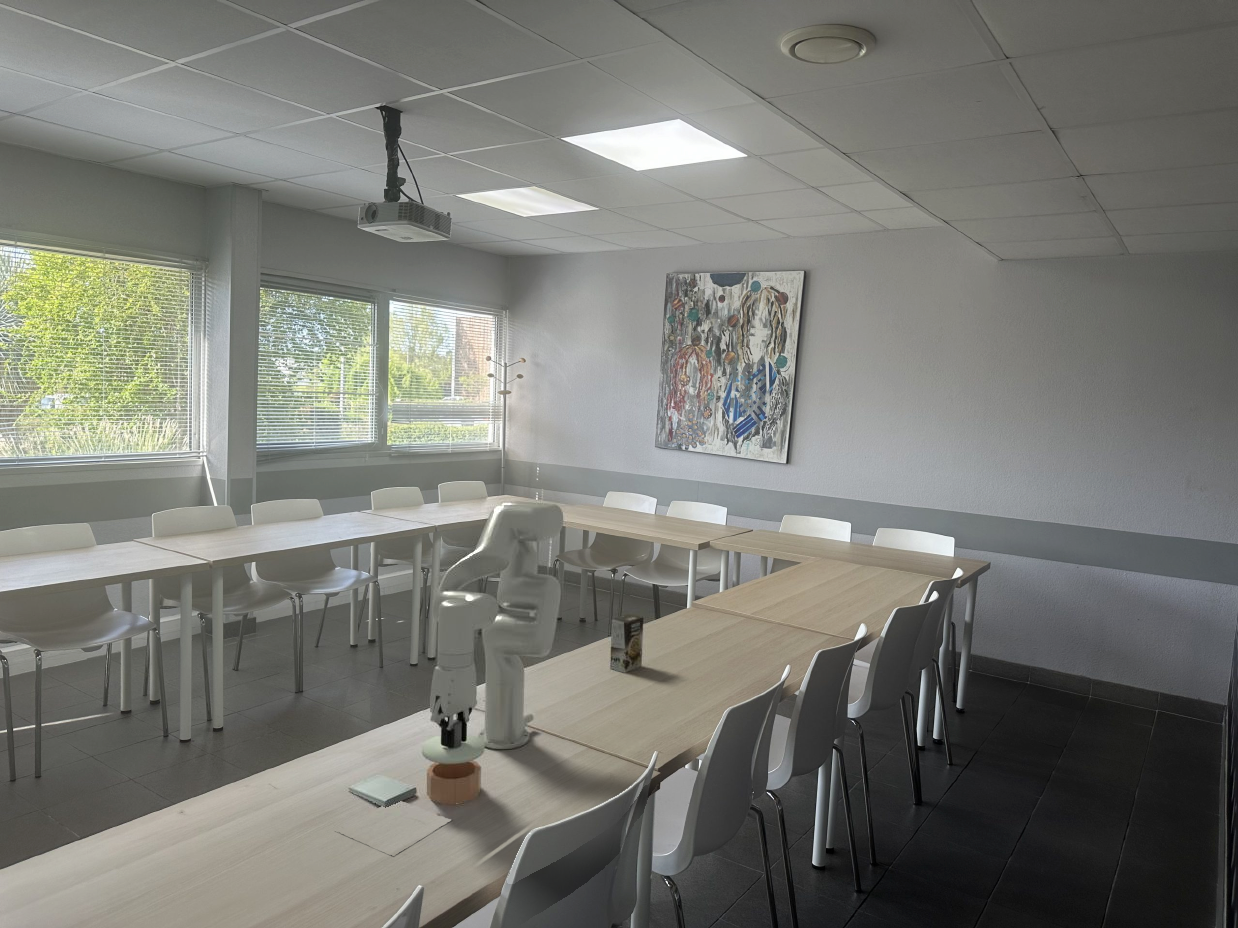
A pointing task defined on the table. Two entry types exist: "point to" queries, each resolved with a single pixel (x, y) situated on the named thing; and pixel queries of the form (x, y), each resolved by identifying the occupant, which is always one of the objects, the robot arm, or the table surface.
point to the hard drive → (383, 790)
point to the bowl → (454, 782)
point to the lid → (454, 748)
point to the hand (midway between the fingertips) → (453, 742)
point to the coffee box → (626, 643)
